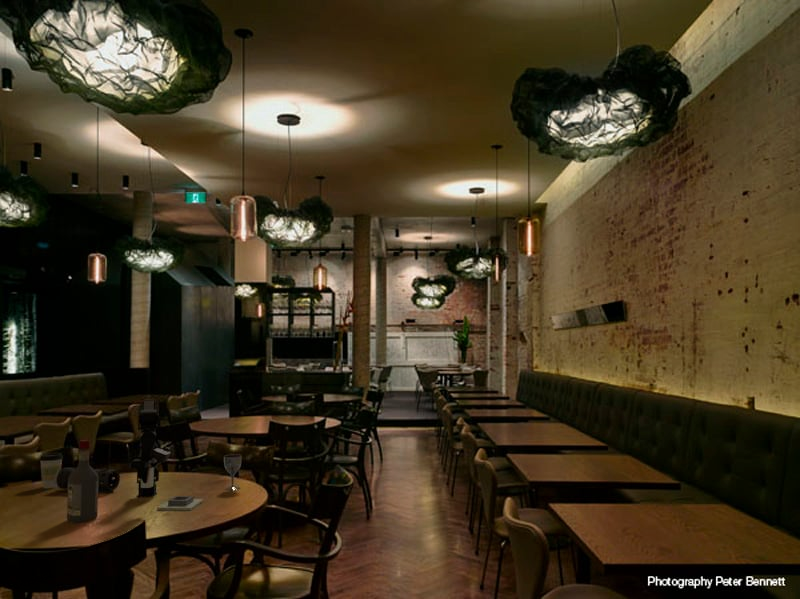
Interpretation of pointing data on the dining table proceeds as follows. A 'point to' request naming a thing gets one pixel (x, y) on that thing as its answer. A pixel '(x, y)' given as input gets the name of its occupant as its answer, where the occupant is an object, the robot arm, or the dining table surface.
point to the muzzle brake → (103, 480)
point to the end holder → (180, 503)
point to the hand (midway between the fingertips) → (147, 482)
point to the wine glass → (232, 467)
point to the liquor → (82, 489)
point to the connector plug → (149, 479)
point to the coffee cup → (50, 468)
